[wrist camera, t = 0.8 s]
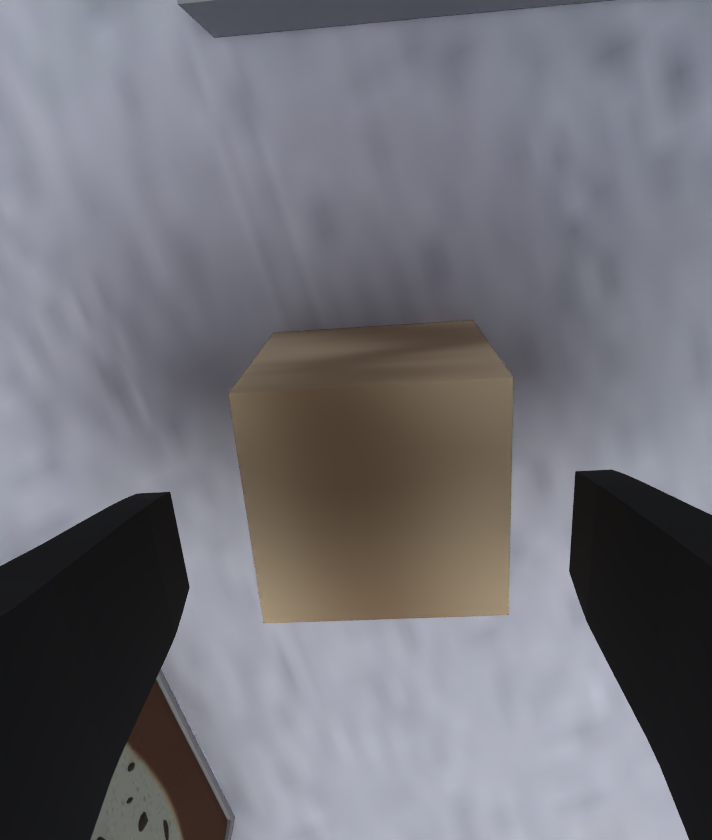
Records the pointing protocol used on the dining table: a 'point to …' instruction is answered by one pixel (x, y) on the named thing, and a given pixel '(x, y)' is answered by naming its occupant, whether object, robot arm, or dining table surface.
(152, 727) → the food container
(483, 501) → the oak cube
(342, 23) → the plinth
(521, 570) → the dining table surface
